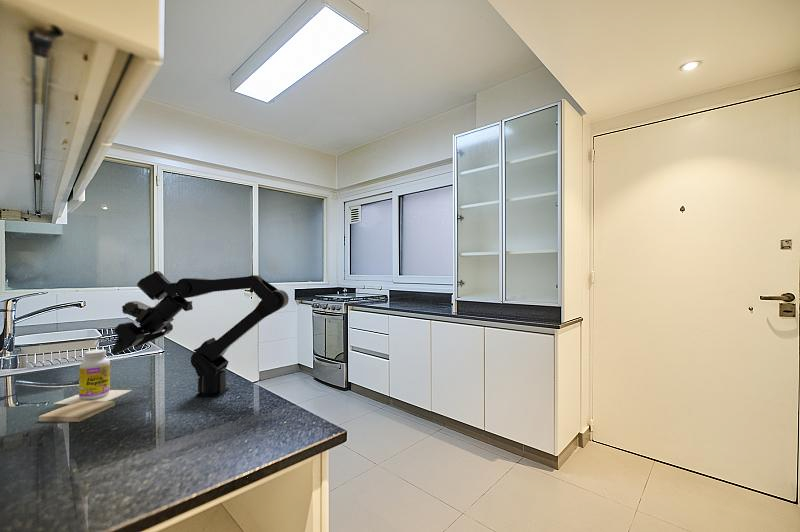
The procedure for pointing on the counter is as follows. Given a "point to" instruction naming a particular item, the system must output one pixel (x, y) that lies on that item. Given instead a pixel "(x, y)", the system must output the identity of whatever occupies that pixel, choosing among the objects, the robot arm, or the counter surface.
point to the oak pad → (77, 411)
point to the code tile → (108, 397)
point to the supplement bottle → (94, 375)
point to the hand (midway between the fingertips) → (124, 349)
